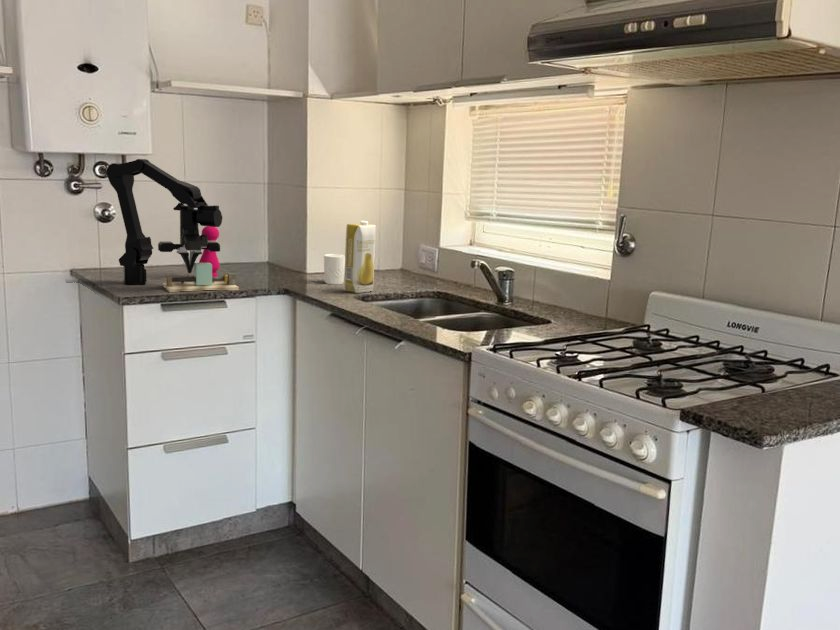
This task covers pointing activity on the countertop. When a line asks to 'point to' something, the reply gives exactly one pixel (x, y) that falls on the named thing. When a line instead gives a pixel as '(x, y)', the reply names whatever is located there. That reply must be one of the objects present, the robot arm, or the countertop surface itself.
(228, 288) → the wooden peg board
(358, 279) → the juice carton
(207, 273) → the sleeve
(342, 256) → the white cup
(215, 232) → the pepper mill
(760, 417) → the countertop surface
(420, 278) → the countertop surface
